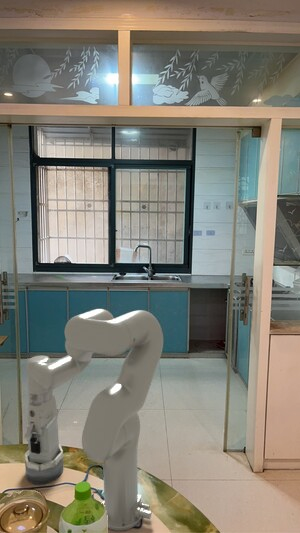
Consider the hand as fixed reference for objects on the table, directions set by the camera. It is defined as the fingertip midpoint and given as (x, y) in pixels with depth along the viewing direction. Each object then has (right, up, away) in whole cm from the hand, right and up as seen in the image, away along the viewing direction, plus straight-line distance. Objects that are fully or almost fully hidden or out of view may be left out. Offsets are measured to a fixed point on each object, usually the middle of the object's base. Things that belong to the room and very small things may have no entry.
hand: (43, 444), depth 120 cm
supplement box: (0, -4, +1) cm, 4 cm away
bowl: (0, -10, +2) cm, 10 cm away
